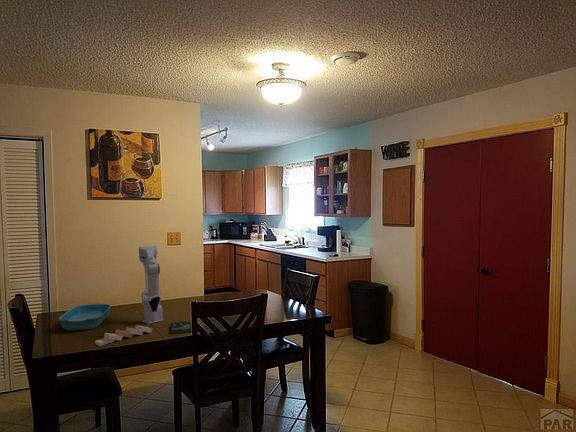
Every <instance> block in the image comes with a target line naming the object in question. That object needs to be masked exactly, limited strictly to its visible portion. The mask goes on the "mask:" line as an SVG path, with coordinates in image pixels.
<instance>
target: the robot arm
mask: <svg viewBox="0 0 576 432" xmlns="http://www.w3.org/2000/svg"><path fill="white" fill-rule="evenodd" d="M157 249H158V248H157V246H156V245H151V246H148V245H146V246H138V258H139V263H142V264H143V268H144V280H145V281H144V282H145V290H143V291H142V293H141V306H142V307H144V320H141V322H143V323H144V324H147V325H149V324H155V323H157V322H158V323H159V322H162V321H164V317H163V316H164V315H163V311H164V310H163V307H162V305H161V295H162V291H160V275H161V267H160V266H161V265H160V263H158V261H157V254H158V251H157Z"/></svg>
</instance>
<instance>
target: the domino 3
mask: <svg viewBox="0 0 576 432" xmlns="http://www.w3.org/2000/svg"><path fill="white" fill-rule="evenodd" d="M114 334H116V335H118V336H123V338H124V337H125V338H133V335H134V334H131V333H128V332H126V330H120V329H115V332H114Z"/></svg>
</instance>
